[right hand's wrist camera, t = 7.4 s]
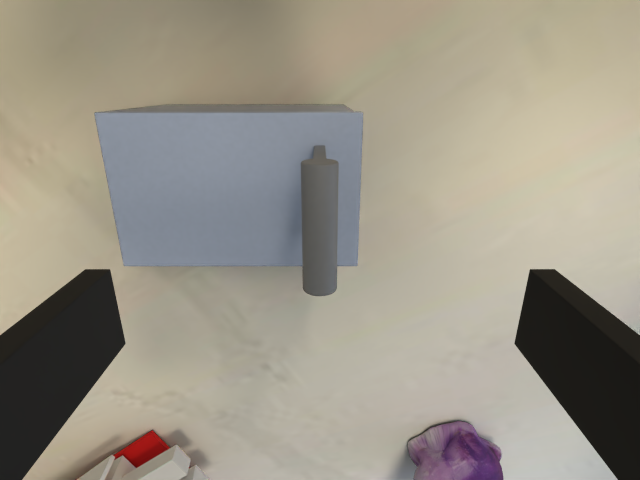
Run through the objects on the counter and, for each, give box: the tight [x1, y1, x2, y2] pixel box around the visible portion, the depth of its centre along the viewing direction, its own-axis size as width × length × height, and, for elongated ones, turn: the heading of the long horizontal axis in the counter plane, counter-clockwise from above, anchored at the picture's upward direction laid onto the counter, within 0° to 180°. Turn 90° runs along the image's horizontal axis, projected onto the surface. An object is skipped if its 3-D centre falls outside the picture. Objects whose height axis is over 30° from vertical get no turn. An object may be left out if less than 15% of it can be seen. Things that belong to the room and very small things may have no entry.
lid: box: [94, 112, 363, 296], centre depth 23 cm, size 16×10×8 cm, turn 90°
